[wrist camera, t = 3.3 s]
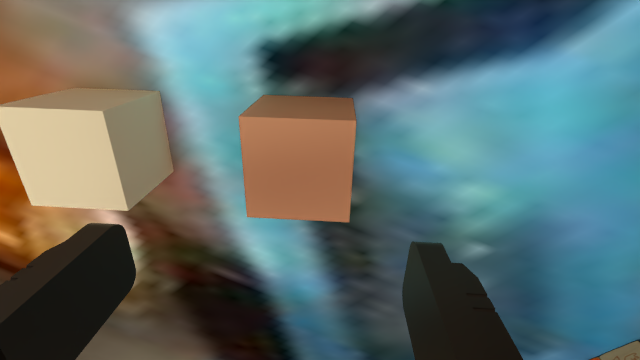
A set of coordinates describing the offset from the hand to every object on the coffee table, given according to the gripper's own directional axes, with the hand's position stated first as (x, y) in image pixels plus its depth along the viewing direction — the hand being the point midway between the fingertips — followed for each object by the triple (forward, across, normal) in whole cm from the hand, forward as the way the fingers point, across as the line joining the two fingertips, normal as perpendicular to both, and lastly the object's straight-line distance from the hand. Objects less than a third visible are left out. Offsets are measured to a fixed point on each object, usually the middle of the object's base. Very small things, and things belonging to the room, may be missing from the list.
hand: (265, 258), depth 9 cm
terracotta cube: (+11, 0, 0) cm, 11 cm away
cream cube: (+11, +11, 0) cm, 16 cm away
